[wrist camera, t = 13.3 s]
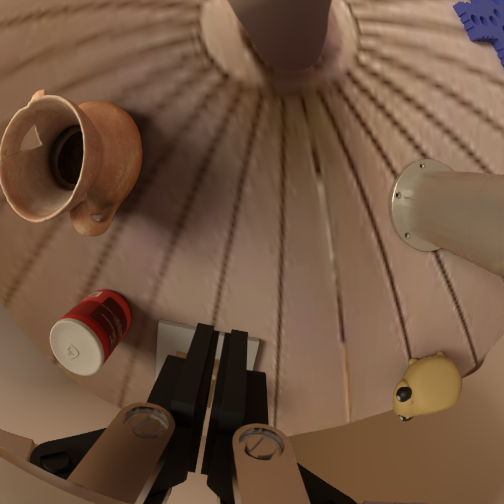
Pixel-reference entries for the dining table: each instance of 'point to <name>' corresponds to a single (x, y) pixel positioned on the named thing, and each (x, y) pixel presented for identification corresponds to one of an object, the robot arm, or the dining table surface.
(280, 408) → the dining table surface
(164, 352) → the plate
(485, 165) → the dining table surface
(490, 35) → the building block
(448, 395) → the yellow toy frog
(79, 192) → the ceramic jug
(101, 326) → the canned food
